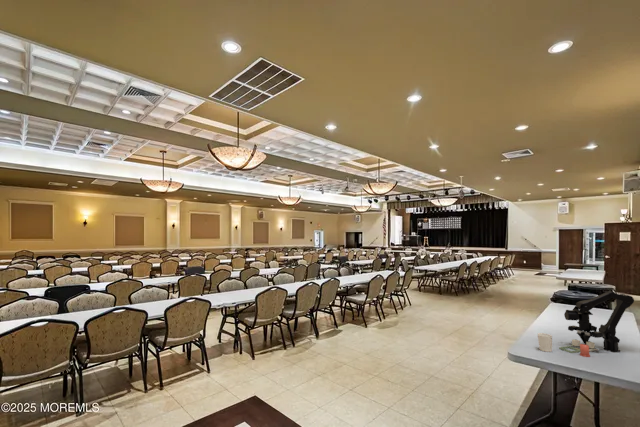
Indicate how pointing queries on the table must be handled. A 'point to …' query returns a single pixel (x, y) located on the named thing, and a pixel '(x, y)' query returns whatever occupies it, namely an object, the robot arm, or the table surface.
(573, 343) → the toggle
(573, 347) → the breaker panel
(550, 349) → the white cup
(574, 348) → the frame
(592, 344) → the toggle
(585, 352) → the cap
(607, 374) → the table surface
